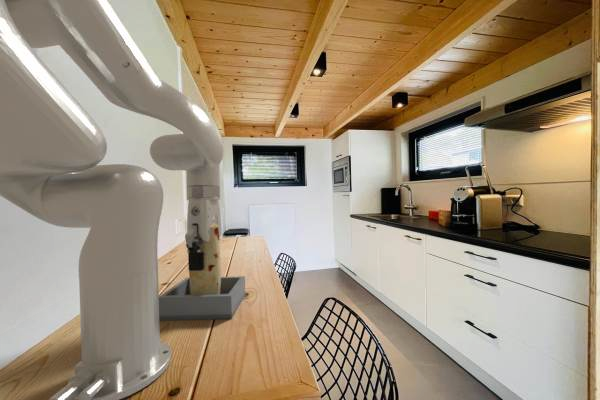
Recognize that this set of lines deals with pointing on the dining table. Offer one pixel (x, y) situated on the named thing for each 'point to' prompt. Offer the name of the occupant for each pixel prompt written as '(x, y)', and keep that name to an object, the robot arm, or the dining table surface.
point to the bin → (202, 301)
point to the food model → (208, 267)
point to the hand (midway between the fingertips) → (205, 264)
